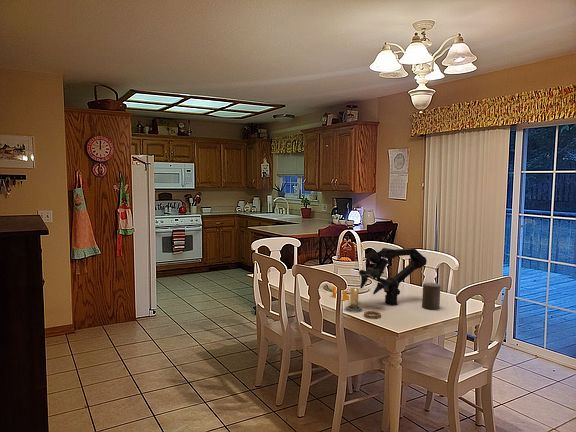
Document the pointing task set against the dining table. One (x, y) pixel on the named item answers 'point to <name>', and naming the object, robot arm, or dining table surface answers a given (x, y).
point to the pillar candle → (431, 296)
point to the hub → (354, 309)
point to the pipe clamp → (345, 296)
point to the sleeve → (354, 298)
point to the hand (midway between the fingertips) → (367, 291)
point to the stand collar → (376, 316)
